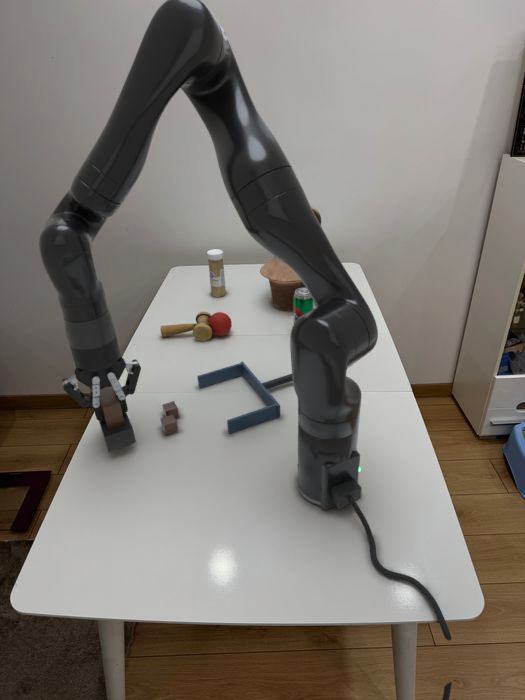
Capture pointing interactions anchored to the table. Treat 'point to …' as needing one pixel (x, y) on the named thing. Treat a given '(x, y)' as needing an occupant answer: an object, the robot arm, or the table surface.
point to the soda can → (302, 303)
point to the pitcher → (283, 279)
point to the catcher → (259, 387)
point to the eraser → (114, 421)
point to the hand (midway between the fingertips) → (112, 416)
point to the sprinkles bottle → (216, 272)
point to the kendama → (202, 326)
